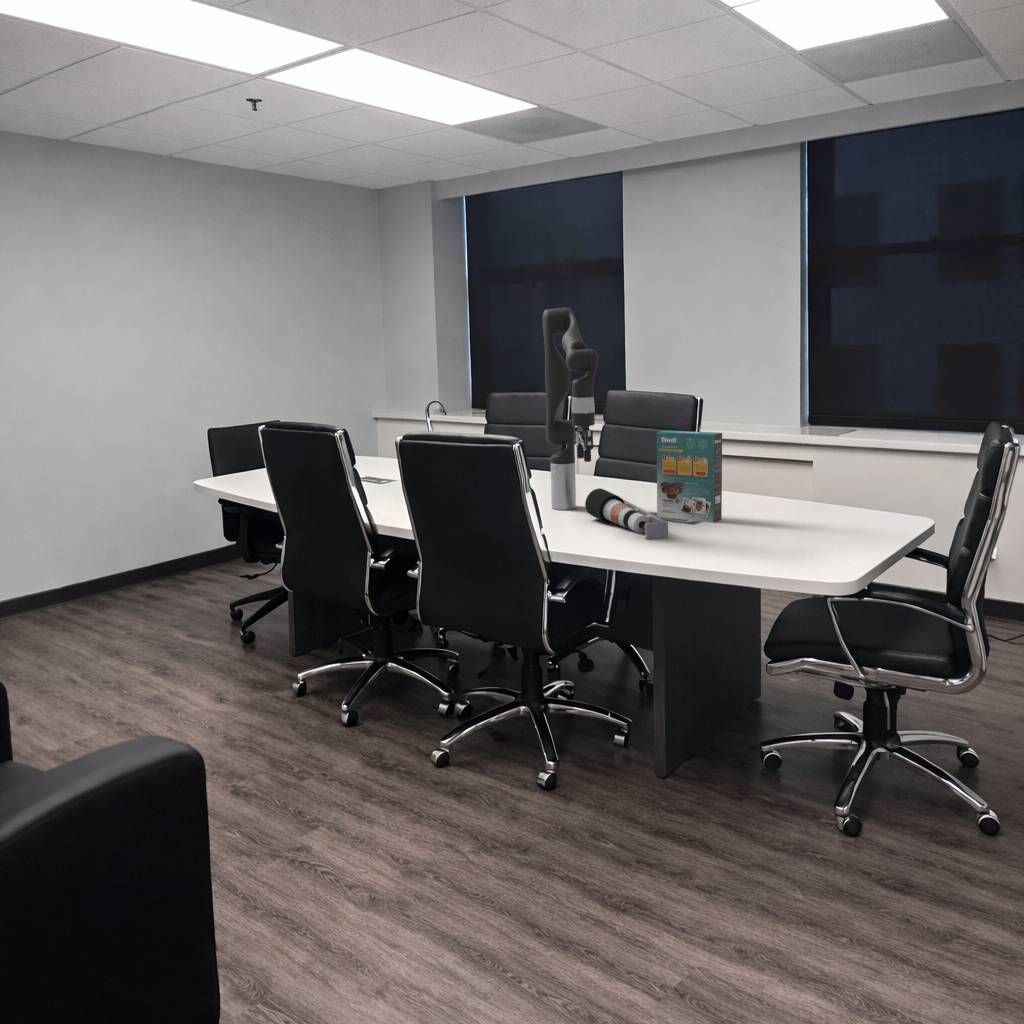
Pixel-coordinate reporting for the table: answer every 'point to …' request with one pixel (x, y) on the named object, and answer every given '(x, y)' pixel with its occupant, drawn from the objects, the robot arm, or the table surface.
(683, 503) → the cake mix box
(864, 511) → the table surface
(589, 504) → the cable
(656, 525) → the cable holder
